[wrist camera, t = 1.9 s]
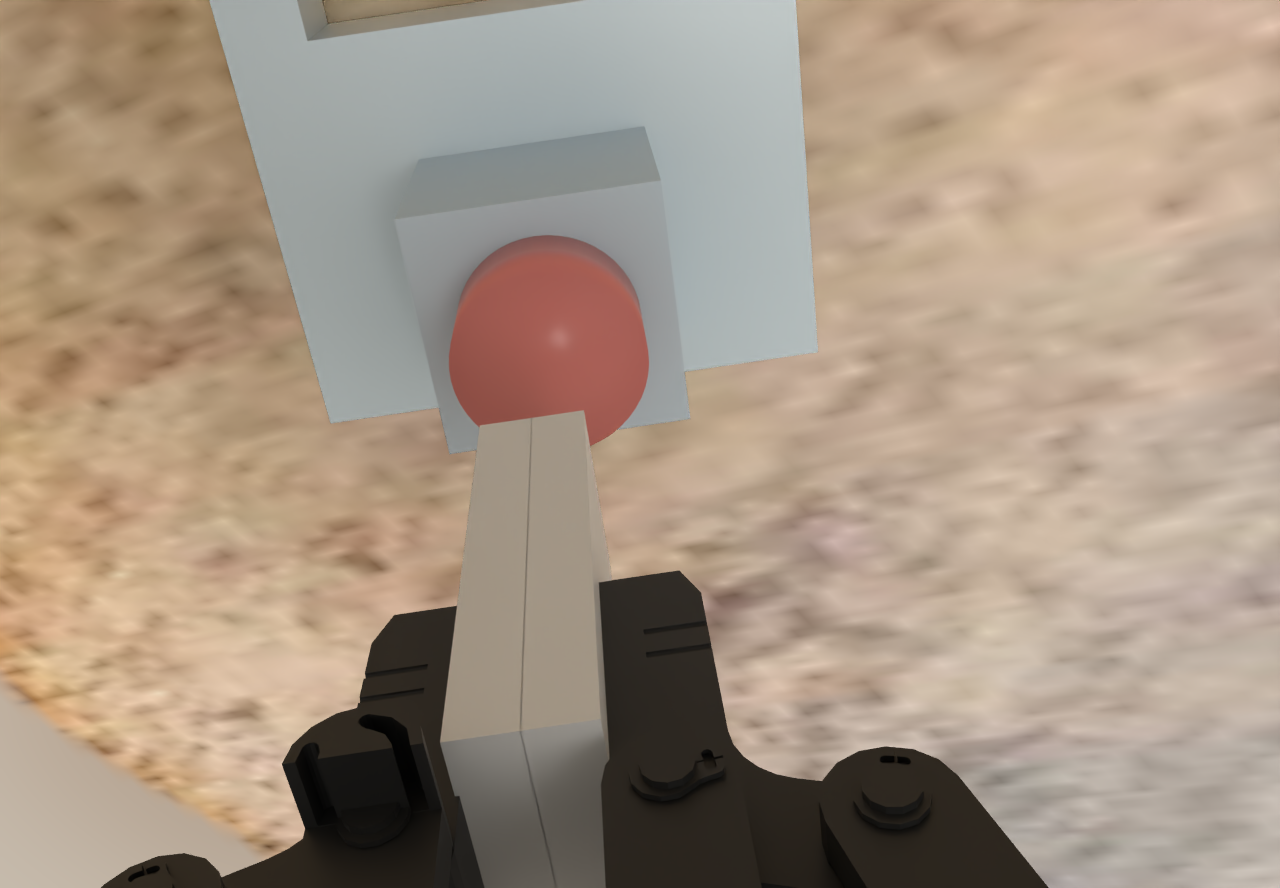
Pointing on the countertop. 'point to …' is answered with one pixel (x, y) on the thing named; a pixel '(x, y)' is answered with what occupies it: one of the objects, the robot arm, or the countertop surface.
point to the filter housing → (528, 177)
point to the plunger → (549, 336)
